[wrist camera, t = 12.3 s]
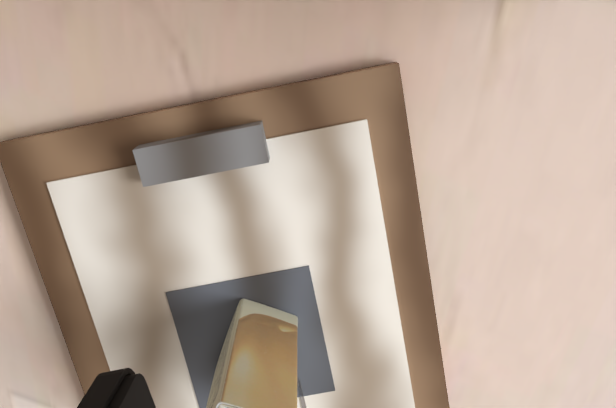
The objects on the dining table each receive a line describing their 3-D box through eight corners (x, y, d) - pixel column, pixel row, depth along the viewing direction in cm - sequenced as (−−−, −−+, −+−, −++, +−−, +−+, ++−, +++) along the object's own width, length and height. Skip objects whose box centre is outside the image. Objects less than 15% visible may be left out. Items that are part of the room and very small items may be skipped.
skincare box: (271, 387, 42) (259, 526, 30) (213, 369, 41) (179, 504, 30) (301, 311, 40) (301, 428, 28) (241, 292, 40) (216, 403, 28)
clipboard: (395, 62, 37) (403, 64, 34) (458, 488, 47) (468, 516, 44) (3, 141, 38) (-19, 149, 35) (145, 540, 48) (136, 570, 45)
